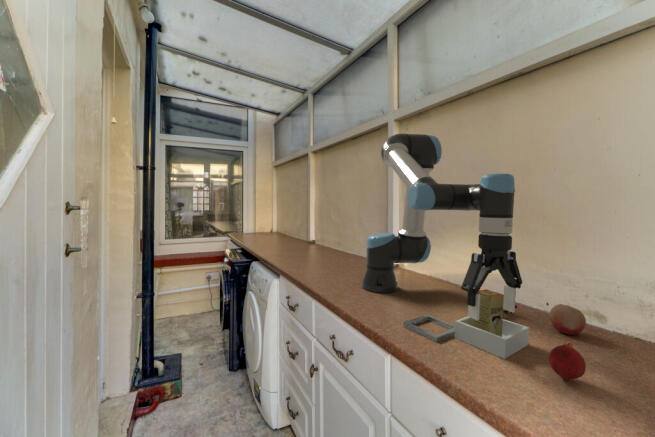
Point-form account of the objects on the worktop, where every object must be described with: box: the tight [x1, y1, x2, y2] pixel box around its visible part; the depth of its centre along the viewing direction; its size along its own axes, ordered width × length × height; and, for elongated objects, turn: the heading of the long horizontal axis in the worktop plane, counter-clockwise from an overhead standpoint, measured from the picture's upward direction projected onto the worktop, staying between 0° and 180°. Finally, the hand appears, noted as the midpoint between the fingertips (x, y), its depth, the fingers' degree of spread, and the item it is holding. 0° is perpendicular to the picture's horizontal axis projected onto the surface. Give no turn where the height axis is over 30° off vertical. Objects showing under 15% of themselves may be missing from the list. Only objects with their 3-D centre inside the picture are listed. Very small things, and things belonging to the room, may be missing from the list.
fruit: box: [548, 303, 587, 336], centre depth 80 cm, size 8×8×8 cm
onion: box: [548, 341, 587, 382], centre depth 58 cm, size 6×6×8 cm
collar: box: [402, 313, 455, 343], centre depth 82 cm, size 11×11×1 cm
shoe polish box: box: [473, 288, 504, 337], centre depth 75 cm, size 5×5×12 cm
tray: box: [454, 315, 530, 360], centre depth 75 cm, size 13×13×5 cm
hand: (491, 314), depth 74 cm, fingers open, 13 cm apart
